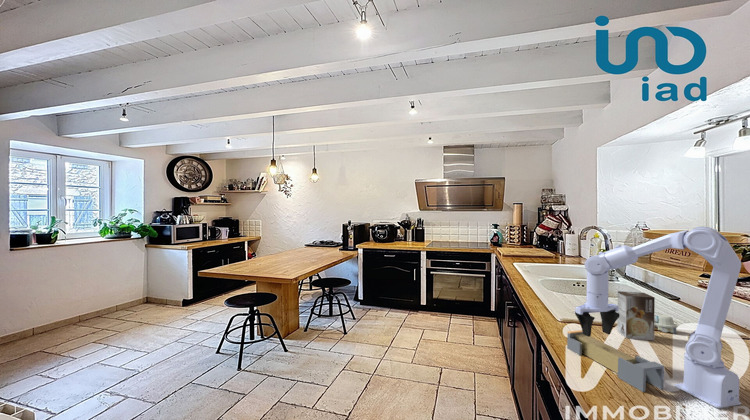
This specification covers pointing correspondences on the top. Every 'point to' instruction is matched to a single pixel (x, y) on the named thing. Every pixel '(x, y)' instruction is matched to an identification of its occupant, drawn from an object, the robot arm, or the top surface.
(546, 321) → the top surface
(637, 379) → the sleeve
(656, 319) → the pale grey bumpy piece
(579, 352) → the socket
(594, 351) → the tan rectangular post
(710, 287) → the robot arm
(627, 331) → the coffee box
